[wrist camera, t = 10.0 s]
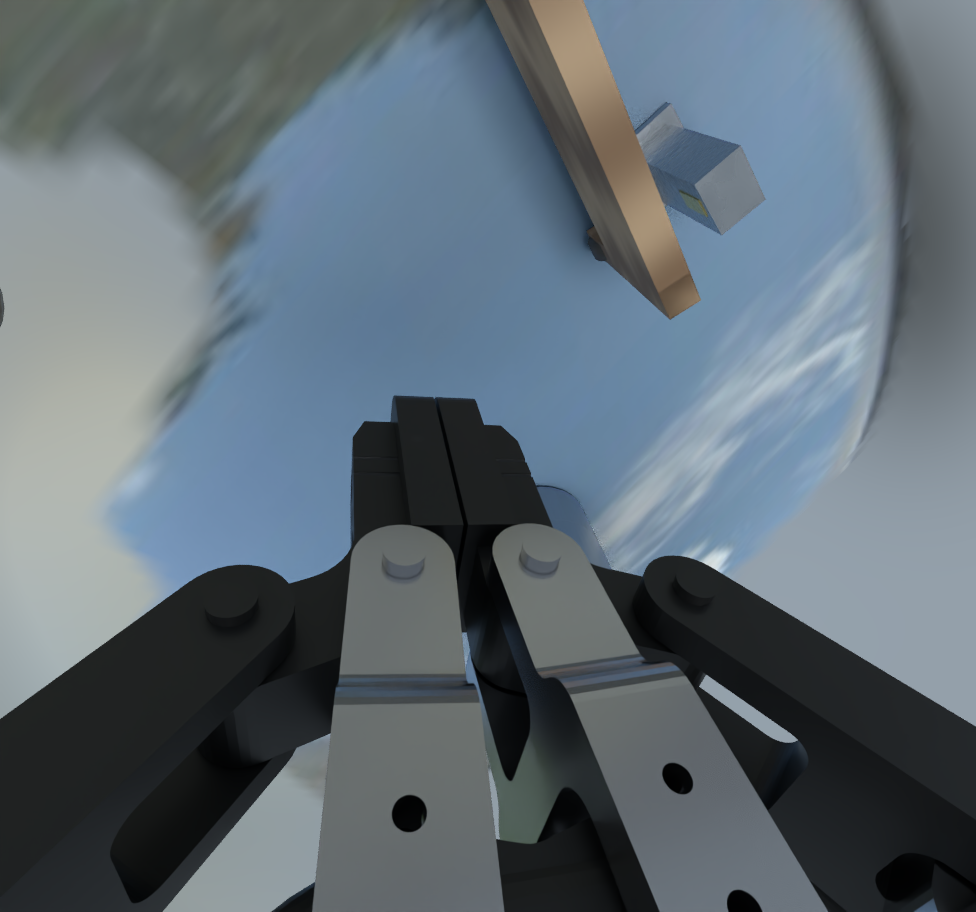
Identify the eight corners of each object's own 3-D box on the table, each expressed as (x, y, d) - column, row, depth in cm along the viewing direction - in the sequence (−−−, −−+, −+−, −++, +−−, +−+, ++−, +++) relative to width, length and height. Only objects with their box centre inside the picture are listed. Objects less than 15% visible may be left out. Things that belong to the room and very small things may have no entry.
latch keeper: (701, 169, 34) (782, 202, 28) (650, 213, 35) (717, 254, 29) (666, 102, 32) (746, 121, 25) (612, 151, 33) (676, 182, 26)
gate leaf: (441, -39, 26) (484, -68, 18) (487, -76, 26) (550, -122, 18) (591, 257, 35) (662, 324, 27) (626, 233, 35) (708, 295, 27)
